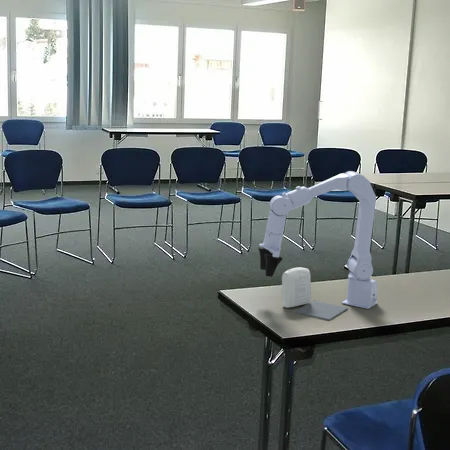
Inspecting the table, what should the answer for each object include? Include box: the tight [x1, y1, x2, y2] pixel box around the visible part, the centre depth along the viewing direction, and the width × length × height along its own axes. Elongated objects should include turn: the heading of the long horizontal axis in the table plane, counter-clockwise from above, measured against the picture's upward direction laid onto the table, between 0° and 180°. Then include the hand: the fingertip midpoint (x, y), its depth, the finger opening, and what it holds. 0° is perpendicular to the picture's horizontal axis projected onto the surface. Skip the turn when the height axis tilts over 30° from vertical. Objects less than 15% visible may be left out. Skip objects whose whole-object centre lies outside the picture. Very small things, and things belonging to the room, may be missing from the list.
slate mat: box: [294, 300, 349, 322], centre depth 217 cm, size 12×14×1 cm
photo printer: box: [281, 266, 312, 309], centre depth 221 cm, size 10×4×12 cm, turn 124°
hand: (266, 272), depth 221 cm, fingers open, 7 cm apart
